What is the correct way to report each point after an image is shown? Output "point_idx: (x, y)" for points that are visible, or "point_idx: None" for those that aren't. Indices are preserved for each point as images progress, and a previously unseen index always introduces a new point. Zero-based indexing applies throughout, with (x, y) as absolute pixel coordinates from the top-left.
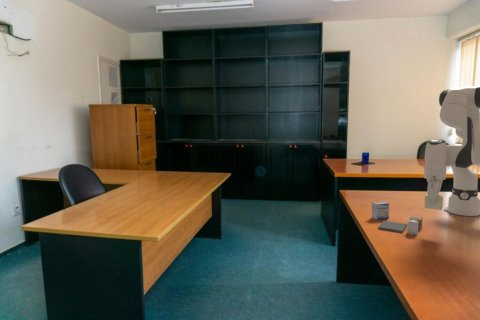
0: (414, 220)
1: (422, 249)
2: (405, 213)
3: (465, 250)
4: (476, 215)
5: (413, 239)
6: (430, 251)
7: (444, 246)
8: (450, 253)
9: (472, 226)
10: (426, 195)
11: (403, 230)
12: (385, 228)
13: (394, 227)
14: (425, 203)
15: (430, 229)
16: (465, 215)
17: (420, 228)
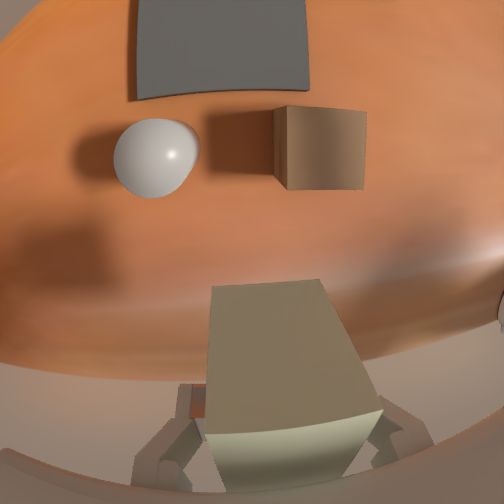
0: (178, 163)
1: (9, 247)
2: (498, 94)
3: (110, 360)
4: (500, 322)
5: (76, 184)
6: (14, 273)
7: (90, 308)
8: (48, 326)
9: (413, 342)
10: (245, 443)
11: (173, 94)
12: (138, 8)
13: (182, 39)
14: (209, 335)
15: (309, 222)
16: (501, 301)
17: (275, 175)
